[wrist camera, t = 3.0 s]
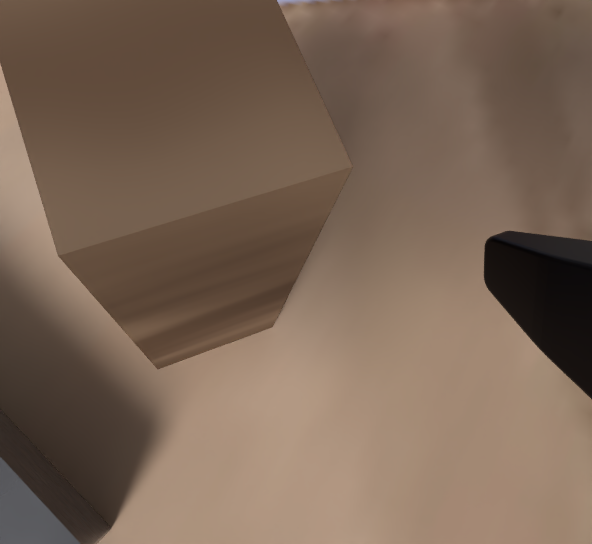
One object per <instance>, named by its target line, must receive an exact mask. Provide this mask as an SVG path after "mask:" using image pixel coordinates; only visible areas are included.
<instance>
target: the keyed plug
mask: <svg viewBox="0 0 592 544" xmlns="http://www.w3.org/2000/svg"><path fill="white" fill-rule="evenodd" d="M0 63H1V67H2V70H3V73H4V77H5V80H6V83H7V87H8V90H9V93H10V97H11V100H12V103H13V107H14V110H15V113H16V117H17V120H18V123H19V127H20V130H21V133H22V137H23V140H24V143H25V147H26V150H27V153H28V157H29V160H30V164H31V167H32V170H33V174H34V177H35V180H36V184H37V187H38V190H39V194H40V197H41V200H42V204H43V207H44V210H45V214H46V217H47V220H48V224H49V227H50V230H51V234H52V237H53V240H54V244H55V247H56V250H57V254H58V256H59V257H60V258H61V260H62V261H63V262H64V263H65V264H66V265H67V266H68V268H69V269H70V270H71V271H72V272H73V273H74V274H75V276H76V277H77V278H78V279H79V280H80V281H81V282H82V284H83V285H84V286H85V287H86V288H87V289H88V290H89V291H90V293H91V294H92V295H93V296H94V297H95V298H96V299H97V301H98V302H99V303H100V304H101V305H102V306H103V307H104V309H105V310H106V311H107V312H108V313H109V314H110V315H111V317H112V318H113V319H114V320H115V321H116V322H117V323H118V325H119V326H120V327H121V328H122V329H123V330H124V331H125V332H126V334H127V335H128V336H129V337H130V338H131V339H132V340H133V342H134V343H135V344H136V345H137V346H138V347H139V348H140V350H141V351H142V352H143V353H144V354H145V355H146V356H147V358H148V359H149V360H150V361H151V362H152V363H153V364H154V366H155V367H156V368H157V369H160V368H162V367H165V366H168V365H171V364H173V363H176V362H179V361H181V360H184V359H187V358H190V357H192V356H195V355H198V354H200V353H203V352H206V351H209V350H211V349H214V348H217V347H219V346H222V345H225V344H228V343H230V342H233V341H236V340H239V339H241V338H244V337H247V336H249V335H252V334H255V333H258V332H260V331H263V330H266V329H268V328H271V327H273V325H274V323H275V321H276V319H277V317H278V315H279V313H280V311H281V309H282V307H283V305H284V303H285V301H286V299H287V297H288V295H289V293H290V291H291V289H292V287H293V285H294V283H295V281H296V279H297V277H298V275H299V273H300V271H301V269H302V267H303V265H304V263H305V261H306V259H307V257H308V255H309V253H310V251H311V249H312V247H313V245H314V243H315V241H316V239H317V237H318V235H319V233H320V231H321V229H322V227H323V225H324V223H325V221H326V219H327V217H328V215H329V213H330V211H331V210H332V208H333V206H334V204H335V202H336V200H337V198H338V196H339V194H340V192H341V190H342V188H343V186H344V184H345V182H346V180H347V178H348V176H349V174H350V172H351V170H352V168H353V165H352V163H351V161H350V159H349V156H348V154H347V152H346V150H345V148H344V146H343V143H342V141H341V139H340V137H339V135H338V132H337V130H336V128H335V126H334V124H333V122H332V119H331V117H330V115H329V113H328V111H327V109H326V106H325V104H324V102H323V100H322V98H321V95H320V93H319V91H318V89H317V87H316V85H315V82H314V80H313V78H312V76H311V74H310V72H309V69H308V67H307V65H306V63H305V61H304V59H303V56H302V54H301V52H300V50H299V48H298V45H297V43H296V41H295V39H294V37H293V35H292V32H291V30H290V28H289V26H288V24H287V22H286V19H285V17H284V15H283V13H282V11H281V8H280V6H279V4H278V2H277V0H0Z"/></svg>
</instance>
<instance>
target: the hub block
mask: <svg viewBox="0 0 592 544" xmlns="http://www.w3.org/2000/svg"><path fill="white" fill-rule="evenodd" d="M110 529H111V527H110V526H109V525H108V524H107V523H106V522H105V521H104V520H103V519H102V518H101V516H100V515H99V514H98V513H97V512H96V511H95V510H94V509H93V508H92V507H91V506H90V505H89V504H88V503H87V502H86V500H85V499H84V498H83V497H82V496H81V495H80V494H79V493H78V492H77V491H76V490H75V489H74V488H73V487H72V485H71V484H70V483H69V482H68V481H67V480H66V479H65V478H64V477H63V476H62V475H61V474H60V473H59V472H58V470H57V469H56V468H55V467H54V466H53V465H52V464H51V463H50V462H49V461H48V460H47V459H46V458H45V457H44V456H43V454H42V453H41V452H40V451H39V450H38V449H37V448H36V447H35V446H34V445H33V444H32V443H31V442H30V441H29V439H28V438H27V437H26V436H25V435H24V434H23V433H22V432H21V431H20V430H19V429H18V428H17V427H16V426H15V425H14V423H13V422H12V421H11V420H10V419H9V418H8V417H7V416H6V415H5V414H4V413H3V412H2V411H1V410H0V544H97V543H98V542H99V541H100V540H101V539H102V538H103V537H104V536H105V535H106V534H107V532H108V531H109V530H110Z"/></svg>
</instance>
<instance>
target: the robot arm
mask: <svg viewBox="0 0 592 544" xmlns="http://www.w3.org/2000/svg"><path fill="white" fill-rule="evenodd" d="M484 280H485V284H486V286H487V288H488V289H489V291H490V292H491V293H492V294H493V296H494V297H495V298H496V299H497V300H498V301H499V303H500V304H501V305H502V306H503V307H504V308H505V310H506V311H507V312H508V313H509V314H510V315H511V317H512V318H513V319H514V320H515V321H516V322H517V324H518V325H519V326H520V327H521V328H522V329H523V331H524V332H525V333H526V334H527V335H528V337H529V338H530V339H531V340H532V341H533V342H534V343H535V344H536V346H537V347H538V348H539V349H540V350H541V351H542V352H543V353H544V354H545V355H546V356H547V357H548V358H549V359H550V360H551V361H552V362H553V363H554V364H555V365H556V366H557V367H558V368H560V369H561V370H562V371H563V372H564V373H565V374H566V375H567V376H568V377H569V378H570V379H571V380H572V381H573V382H574V383H575V384H576V385H577V386H578V387H579V388H581V389H582V390H583V391H584V392H585V393H586V394H587V395H588V396H589V397H590V398H591V399H592V241H587V240H579V239H571V238H563V237H555V236H547V235H539V234H531V233H523V232H515V231H505V232H502V233H500V234H497V235H494V236H491V237H489V238H488V239H487V241H486V243H485V252H484Z"/></svg>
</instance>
